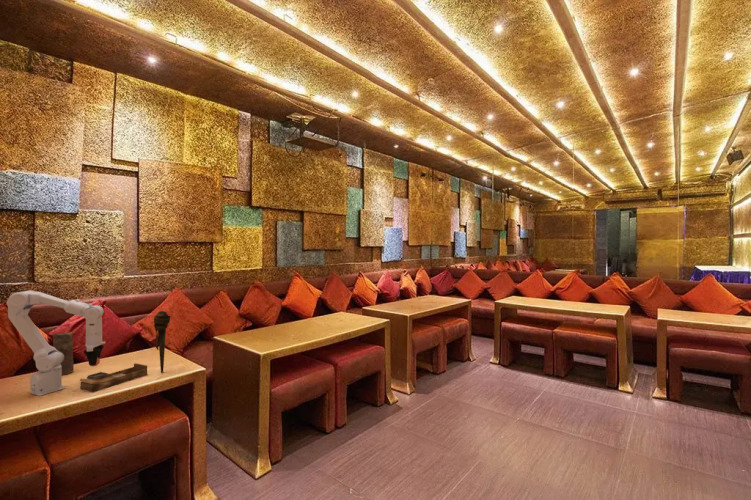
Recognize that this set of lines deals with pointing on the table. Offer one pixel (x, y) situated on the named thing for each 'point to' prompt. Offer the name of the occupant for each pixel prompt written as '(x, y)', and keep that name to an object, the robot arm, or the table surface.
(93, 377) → the grey square tray
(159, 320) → the decorative torch
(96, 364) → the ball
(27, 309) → the robot arm
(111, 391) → the table surface
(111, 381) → the lane
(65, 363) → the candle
